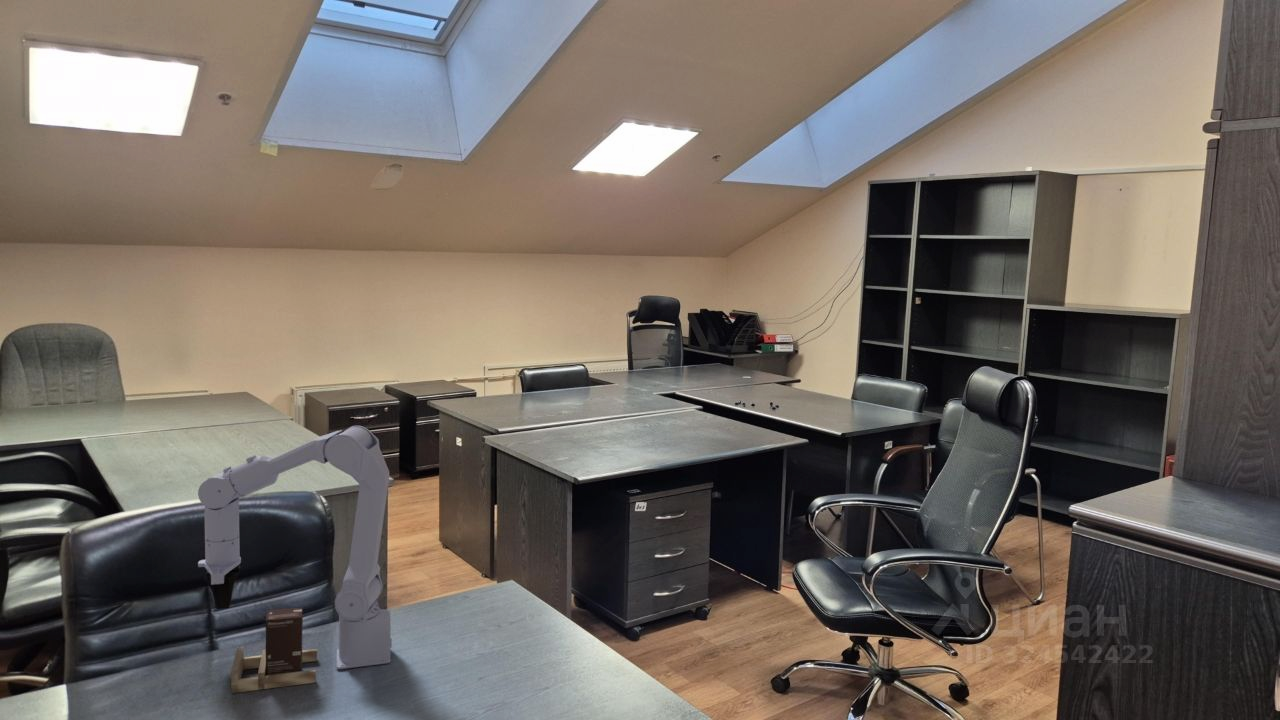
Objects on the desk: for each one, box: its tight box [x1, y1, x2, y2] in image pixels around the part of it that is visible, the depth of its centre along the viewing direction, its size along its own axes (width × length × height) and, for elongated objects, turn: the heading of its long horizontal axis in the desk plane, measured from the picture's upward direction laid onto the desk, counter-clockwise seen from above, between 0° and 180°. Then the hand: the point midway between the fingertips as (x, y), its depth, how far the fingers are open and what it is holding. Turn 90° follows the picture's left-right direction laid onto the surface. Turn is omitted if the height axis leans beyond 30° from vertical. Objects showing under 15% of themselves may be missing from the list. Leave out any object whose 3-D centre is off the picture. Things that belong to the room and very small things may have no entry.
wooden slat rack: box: [230, 646, 318, 694], centre depth 145 cm, size 14×9×4 cm
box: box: [265, 607, 304, 676], centre depth 145 cm, size 6×4×12 cm
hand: (223, 607), depth 151 cm, fingers closed
